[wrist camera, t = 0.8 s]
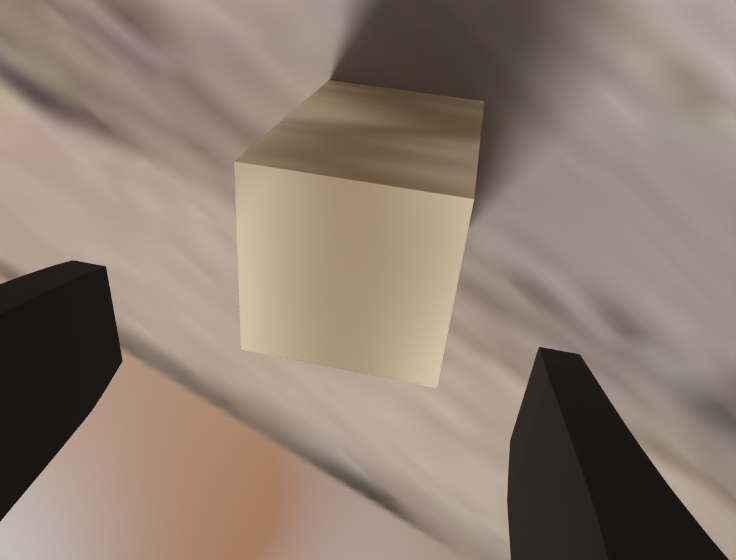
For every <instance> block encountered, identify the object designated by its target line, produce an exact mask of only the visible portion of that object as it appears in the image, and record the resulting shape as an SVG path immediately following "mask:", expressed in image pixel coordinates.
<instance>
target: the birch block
mask: <svg viewBox="0 0 736 560" xmlns="http://www.w3.org/2000/svg"><path fill="white" fill-rule="evenodd" d="M483 110H484V101H480V100H472V99H465V98H458V97H450V96H443V95H436V94H429V93H421V92H414V91H407V90H399V89H392V88H385V87H377V86H370V85H363V84H356V83H348V82H341V81H334V80H329V81H328V82H326V83H325V84H324V85H323V86H322V87H321V88H319V89H318V90H317V91H316V92H315V93H314V94H312V95H311V96H310V97H309V98H308V99H307V100H305V101H304V102H303V103H302V104H301V105H300V106H298V107H297V108H296V109H295V110H294V111H293V112H291V113H290V114H289V115H288V116H287V117H286V118H284V119H283V120H282V121H281V122H280V123H279V124H277V125H276V126H275V127H274V128H273V129H272V130H270V131H269V132H268V133H267V134H266V135H265V136H263V137H262V138H261V139H260V140H259V141H258V142H256V143H255V144H254V145H253V146H252V147H251V148H249V149H248V150H247V151H246V152H245V153H244V154H242V155H241V156H240V157H239V158H238V159H237V160H235V161H234V166H235V194H236V221H237V249H238V277H239V304H240V332H241V350H246V351H251V352H256V353H261V354H266V355H271V356H276V357H281V358H286V359H291V360H296V361H301V362H306V363H312V364H317V365H322V366H327V367H332V368H337V369H342V370H347V371H352V372H357V373H362V374H367V375H372V376H377V377H382V378H387V379H392V380H397V381H402V382H407V383H412V384H417V385H422V386H427V387H432V388H437V385H438V380H439V375H440V370H441V364H442V359H443V354H444V349H445V344H446V339H447V334H448V329H449V324H450V319H451V314H452V309H453V304H454V299H455V294H456V289H457V283H458V278H459V273H460V268H461V263H462V258H463V253H464V248H465V243H466V238H467V233H468V228H469V223H470V218H471V213H472V208H473V203H474V196H475V186H476V177H477V167H478V158H479V148H480V139H481V129H482V120H483Z"/></svg>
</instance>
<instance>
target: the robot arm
mask: <svg viewBox="0 0 736 560" xmlns="http://www.w3.org/2000/svg"><path fill="white" fill-rule="evenodd" d="M121 363H122V355H121V349H120V344H119V338H118V332H117V327H116V321H115V315H114V310H113V304H112V298H111V292H110V287H109V281H108V275H107V270H106V266H101V265H95V264H90V263H84V262H79V261H74V260H73V261H69V262H65V263H61V264H58V265H54V266H51V267H48V268H45V269H42V270H39V271H36V272H33V273H30V274H27V275H24V276H21V277H19V278H16V279H13V280H10V281H7V282H5V283H2V284H0V521H1V520H2V519H3V518H4V516H5V515H6V514H7V513H8V512H9V510H10V509H11V508H12V506H13V505H14V504H15V503H16V502H17V501H18V500H19V498H20V497H21V496H22V495H23V493H24V492H25V491H26V490H27V489H28V488H29V486H30V485H31V484H32V483H33V482H34V480H35V479H36V478H37V477H38V476H39V474H40V473H41V472H42V471H43V470H44V468H45V467H46V466H47V465H48V463H49V462H50V461H51V460H52V459H53V458H54V456H55V455H56V454H57V453H58V452H59V450H60V449H61V448H62V447H63V446H64V444H65V443H66V442H67V441H68V439H69V438H70V437H71V436H72V435H73V433H74V432H75V431H76V430H77V428H78V427H79V426H80V425H81V424H82V422H83V421H84V420H85V418H86V417H87V416H88V415H89V413H90V412H91V411H92V409H93V408H94V407H95V405H96V403H97V402H98V400H99V399H100V397H101V396H102V394H103V393H104V391H105V390H106V388H107V386H108V385H109V383H110V381H111V379H112V378H113V376H114V374H115V373H116V371H117V369H118V368H119V366H120V364H121ZM507 504H508V521H509V536H510V551H511V560H728V558H727V557H726V556H725V555H724V554H723V552H722V551H721V550H720V549H719V548H718V547H717V545H716V544H715V543H714V542H713V541H712V540H711V538H710V537H709V536H708V535H707V534H706V532H705V531H704V530H703V529H702V527H701V526H700V525H699V523H698V522H697V521H696V520H695V518H694V517H693V516H692V515H691V513H690V512H689V511H688V510H687V508H686V507H685V506H684V505H683V503H682V502H681V501H680V500H679V498H678V497H677V496H676V494H675V493H674V492H673V491H672V489H671V488H670V487H669V485H668V484H667V483H666V481H665V480H664V479H663V477H662V476H661V475H660V473H659V472H658V470H657V469H656V467H655V466H654V465H653V463H652V462H651V460H650V459H649V458H648V456H647V455H646V453H645V452H644V451H643V449H642V448H641V446H640V445H639V444H638V442H637V441H636V439H635V438H634V436H633V435H632V433H631V432H630V430H629V429H628V428H627V426H626V425H625V423H624V422H623V420H622V419H621V417H620V416H619V414H618V412H617V411H616V409H615V408H614V406H613V405H612V403H611V402H610V400H609V399H608V397H607V396H606V394H605V393H604V391H603V389H602V388H601V386H600V385H599V383H598V382H597V380H596V379H595V377H594V375H593V374H592V372H591V371H590V369H589V368H588V366H587V365H586V363H585V362H584V360H583V359H582V357H581V356H580V354H574V353H569V352H564V351H558V350H553V349H547V348H542V347H539V349H538V352H537V355H536V358H535V362H534V365H533V368H532V371H531V375H530V378H529V381H528V385H527V388H526V391H525V394H524V398H523V401H522V404H521V407H520V411H519V414H518V417H517V420H516V424H515V427H514V430H513V434H512V437H511V440H510V454H509V472H508V496H507Z"/></svg>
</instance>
